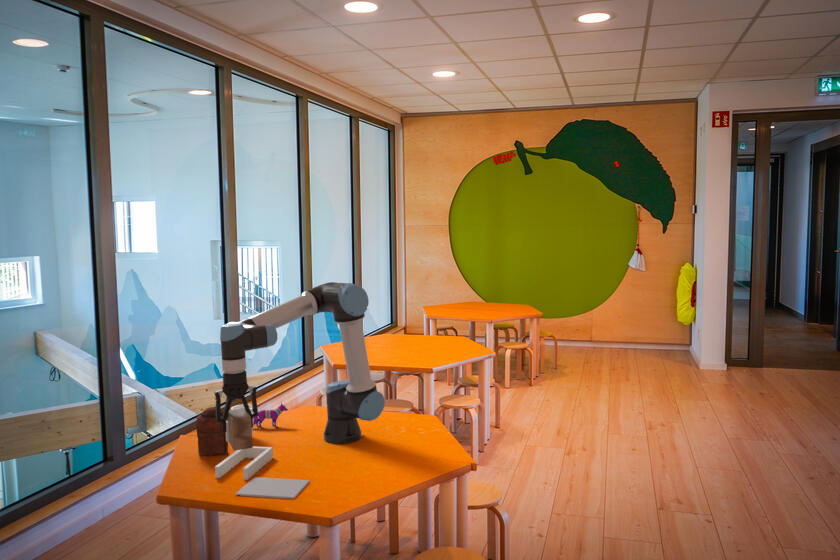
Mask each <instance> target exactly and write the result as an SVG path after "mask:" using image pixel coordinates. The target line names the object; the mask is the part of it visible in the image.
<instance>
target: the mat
mask: <svg viewBox="0 0 840 560" xmlns="http://www.w3.org/2000/svg"><path fill="white" fill-rule="evenodd" d="M310 482H311V481H310V480H309V479H295V478H294V479H292V478H291V479H290V478H278V477H277V478H276V477H275V478H272V477H258V476H257V477H256V476H255V477H253V478H252V479H250V480H249V481H248V482H247V483H246V484H245V485H244V486H243V487H241V488H240V489H239V490H238V491H237V492H236V493H235V496H237V495H240V496H239V497H255V498H270V499H271V498H272V499H285V500H286V499H287V500H289V499H290V500H295V498H297V496H298V495H299V494H301V492H302V491H303V490H304V489H305V488H306V486H308V484H309V483H310Z"/></svg>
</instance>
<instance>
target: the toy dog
mask: <svg viewBox="0 0 840 560" xmlns="http://www.w3.org/2000/svg"><path fill="white" fill-rule="evenodd" d="M280 403H281V404H280V405H279V406H278V407H277V408H274V409H261V410H259V411H258V416H255V417H254V424H253V427H254V426H256V428H260V429H261V428H262V429H261V430H263V428H264V427H262V423H263V422H264V421H265V419H268V420H269V419H271V421H272V423H271V424H272V427H275V429H277V428H278V427H279V426H277V420H278V418H279V416H280V415H281V414H282V413H283V412H284V411H285V412H287V411H288V410H289V409H288V408H287V407H286V405H284V404H283V402H282V401H281V402H280Z"/></svg>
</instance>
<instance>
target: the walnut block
mask: <svg viewBox="0 0 840 560" xmlns="http://www.w3.org/2000/svg"><path fill="white" fill-rule="evenodd" d="M227 421H228V423H229V440H230V442H228V444H229V445H230V446H231V449H232V451H233V452H235V451H237V450H242V449H248V448H253V444H254V443H253V436H252V426H251V417H250V415H249V414H248V412H247V411H246V410H245V408H241V409H234V410H231V409H229V413H228V417H227Z"/></svg>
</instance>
